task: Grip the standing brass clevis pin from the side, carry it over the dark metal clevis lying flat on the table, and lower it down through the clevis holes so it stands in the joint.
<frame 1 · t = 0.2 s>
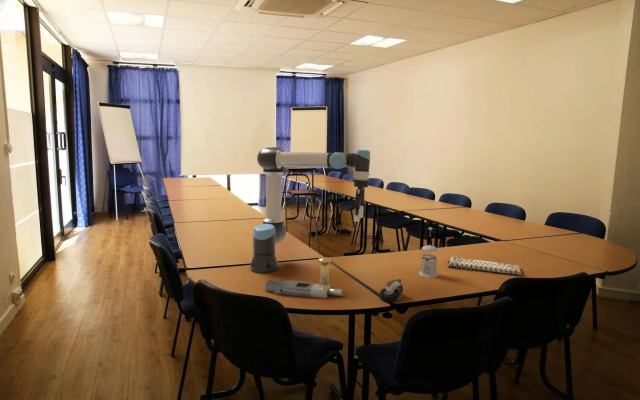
hand: (358, 219, 219), 27 cm above the table, tool pointing down, fingers open, 13 cm apart
clevis pin: (324, 287, 194), on the table
clevis: (302, 292, 187), on the table
mechanical keyboard: (483, 269, 227), on the table
french press: (427, 274, 216), on the table
caster wheel: (392, 299, 181), on the table
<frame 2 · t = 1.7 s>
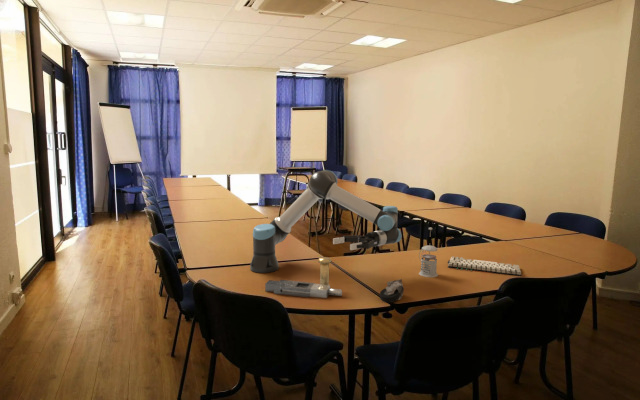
hand: (341, 244, 197), 20 cm above the table, tool horizontal, fingers open, 13 cm apart
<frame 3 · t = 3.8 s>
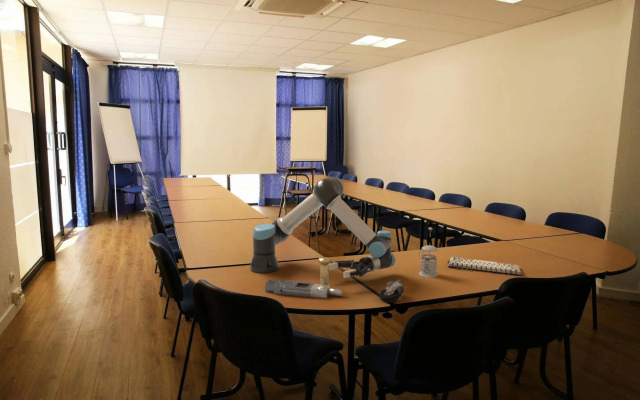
hand: (334, 271, 196), 7 cm above the table, tool horizontal, fingers open, 13 cm apart
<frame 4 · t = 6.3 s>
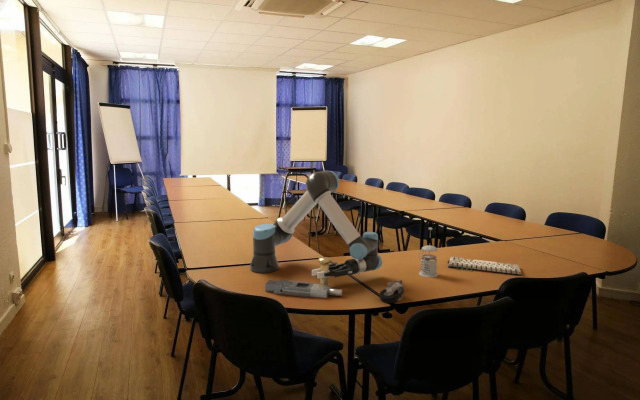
hand: (314, 274, 190), 8 cm above the table, tool horizontal, fingers closed on clevis pin, 4 cm apart
clevis pin: (324, 287, 194), on the table, touching gripper
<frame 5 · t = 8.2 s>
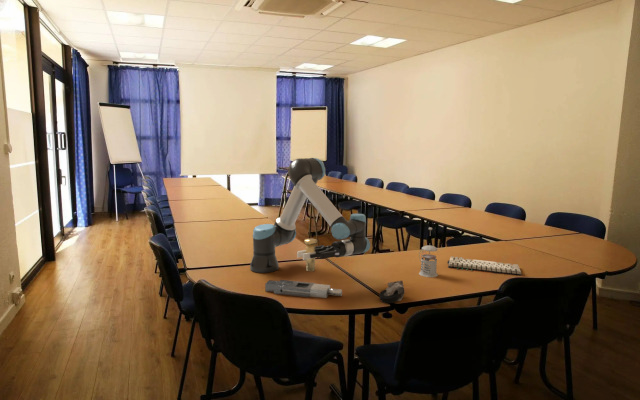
hand: (300, 255, 183), 18 cm above the table, tool horizontal, fingers closed on clevis pin, 4 cm apart
clevis pin: (310, 270, 187), point 10 cm above the table, touching gripper
when the fingers open (9 cm above the table, at t = 10.4 s): clevis pin drops 1 cm, resting in clevis.
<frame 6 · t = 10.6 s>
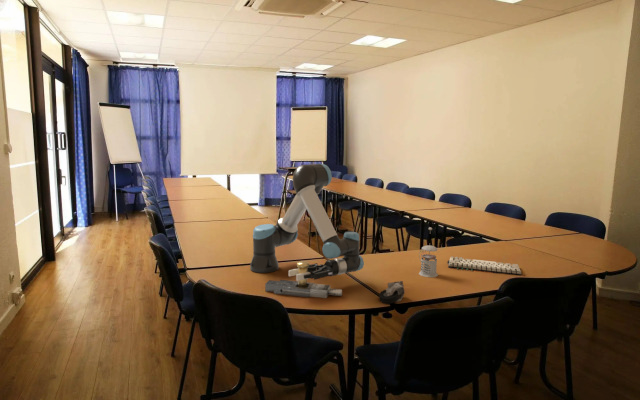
hand: (292, 275, 183), 9 cm above the table, tool horizontal, fingers open, 6 cm apart
clevis pin: (302, 292, 187), resting in clevis
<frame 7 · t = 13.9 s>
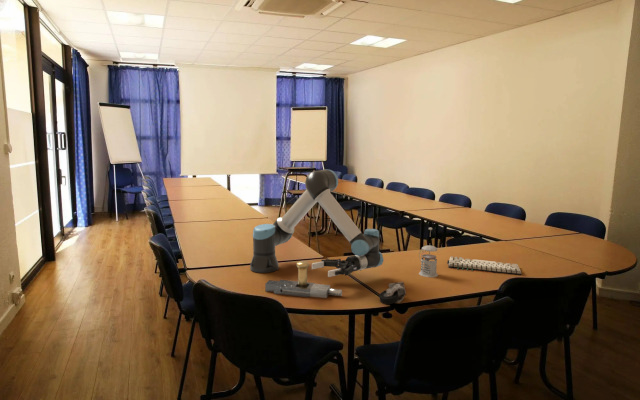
hand: (319, 270, 191), 9 cm above the table, tool horizontal, fingers open, 13 cm apart
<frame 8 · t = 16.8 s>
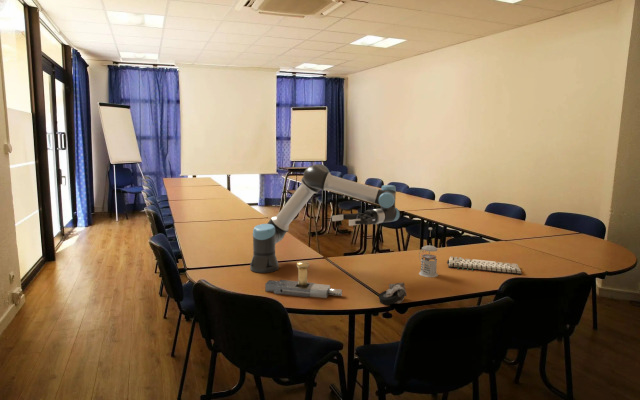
hand: (340, 220, 201), 30 cm above the table, tool horizontal, fingers open, 13 cm apart
at the end: clevis pin 0.0 cm off-centre on the clevis, point 0.0 cm above the clevis's base; clevis pin tilted 0°; the gripper is holding nothing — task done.
